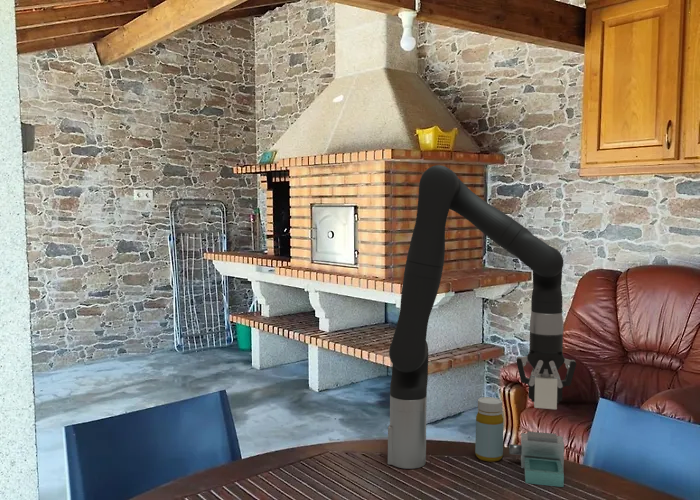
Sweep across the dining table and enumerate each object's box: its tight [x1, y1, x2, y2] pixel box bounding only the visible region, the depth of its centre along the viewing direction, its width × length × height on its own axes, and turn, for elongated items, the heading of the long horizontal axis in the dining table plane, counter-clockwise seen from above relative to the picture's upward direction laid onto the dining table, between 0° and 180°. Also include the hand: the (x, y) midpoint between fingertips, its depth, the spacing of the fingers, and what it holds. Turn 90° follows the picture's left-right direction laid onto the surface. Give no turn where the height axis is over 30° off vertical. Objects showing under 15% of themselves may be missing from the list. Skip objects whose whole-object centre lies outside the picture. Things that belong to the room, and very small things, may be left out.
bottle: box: [474, 396, 505, 463], centre depth 162 cm, size 7×7×15 cm
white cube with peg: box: [533, 369, 558, 410], centre depth 148 cm, size 5×5×9 cm
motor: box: [508, 431, 565, 488], centre depth 153 cm, size 13×15×8 cm
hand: (544, 401), depth 149 cm, fingers closed on white cube with peg, 5 cm apart
